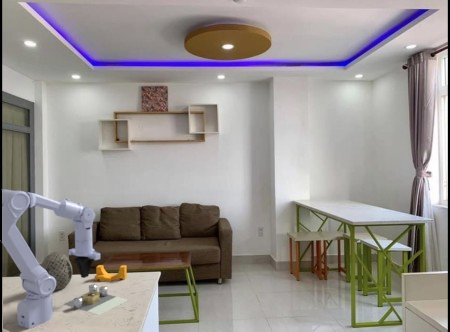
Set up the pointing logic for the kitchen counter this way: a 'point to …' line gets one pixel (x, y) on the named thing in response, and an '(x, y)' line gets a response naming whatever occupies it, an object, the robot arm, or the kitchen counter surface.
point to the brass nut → (91, 298)
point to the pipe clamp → (108, 277)
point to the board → (100, 304)
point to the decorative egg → (58, 269)
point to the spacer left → (77, 303)
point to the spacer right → (103, 291)
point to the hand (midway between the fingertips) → (84, 276)
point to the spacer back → (93, 288)
